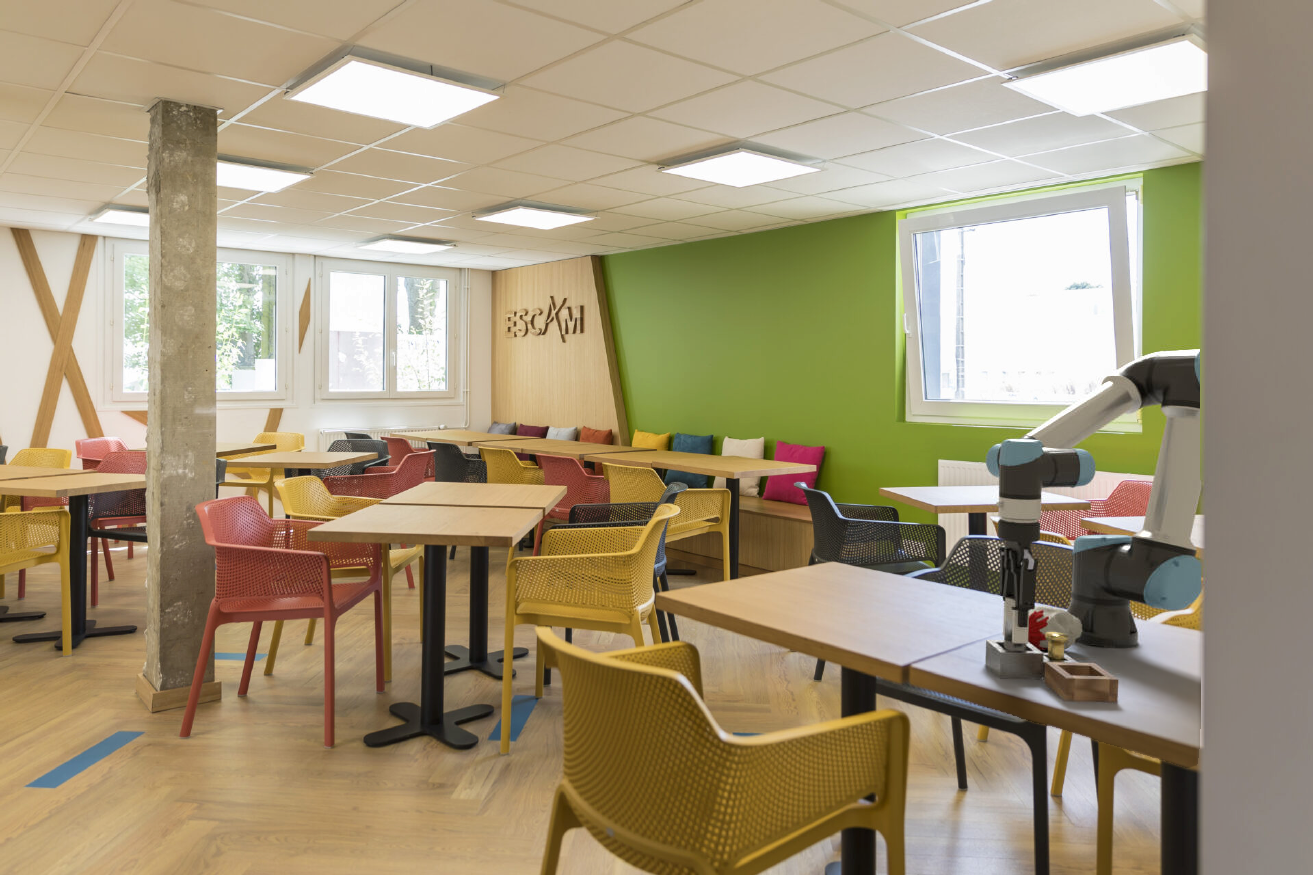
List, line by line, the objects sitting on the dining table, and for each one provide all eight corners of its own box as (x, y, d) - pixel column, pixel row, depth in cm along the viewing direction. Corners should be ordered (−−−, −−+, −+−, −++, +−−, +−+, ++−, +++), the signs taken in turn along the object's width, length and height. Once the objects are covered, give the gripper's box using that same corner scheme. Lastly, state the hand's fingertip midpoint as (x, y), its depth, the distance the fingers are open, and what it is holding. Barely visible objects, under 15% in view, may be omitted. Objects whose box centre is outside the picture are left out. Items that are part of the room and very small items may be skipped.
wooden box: (1093, 684, 159) (1094, 663, 159) (1117, 701, 150) (1118, 679, 150) (1044, 682, 159) (1045, 661, 159) (1065, 700, 150) (1066, 677, 150)
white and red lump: (1085, 648, 180) (1037, 666, 173) (1039, 634, 190) (992, 650, 183) (1084, 607, 178) (1035, 624, 172) (1038, 595, 188) (990, 610, 182)
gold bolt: (1061, 667, 167) (1062, 632, 167) (1070, 673, 163) (1071, 637, 163) (1040, 666, 167) (1041, 631, 167) (1049, 673, 163) (1050, 637, 163)
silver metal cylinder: (1020, 666, 167) (1023, 596, 167) (1028, 673, 163) (1031, 601, 163) (1000, 666, 168) (1002, 596, 167) (1007, 673, 164) (1009, 601, 163)
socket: (1061, 666, 169) (1063, 641, 169) (1080, 680, 161) (1081, 654, 161) (985, 664, 170) (986, 639, 169) (999, 678, 162) (1000, 652, 161)
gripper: (984, 512, 172) (980, 626, 174) (1016, 526, 155) (1012, 652, 157) (1021, 513, 172) (1018, 627, 173) (1057, 526, 155) (1053, 653, 156)
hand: (1015, 638), depth 165 cm, fingers closed on silver metal cylinder, 4 cm apart
